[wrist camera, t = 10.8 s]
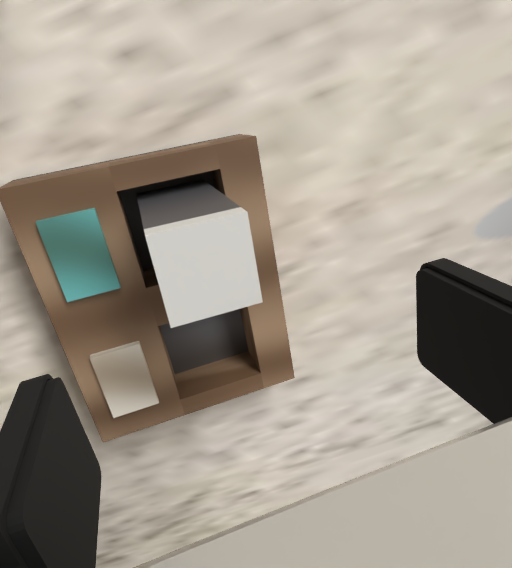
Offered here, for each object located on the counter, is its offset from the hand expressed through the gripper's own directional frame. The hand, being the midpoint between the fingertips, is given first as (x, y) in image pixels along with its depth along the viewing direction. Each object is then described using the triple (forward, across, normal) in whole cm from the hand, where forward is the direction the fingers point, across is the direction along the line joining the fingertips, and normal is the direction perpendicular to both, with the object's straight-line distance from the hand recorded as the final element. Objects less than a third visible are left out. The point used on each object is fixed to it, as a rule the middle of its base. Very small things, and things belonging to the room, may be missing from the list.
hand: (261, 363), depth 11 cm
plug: (+17, 0, 0) cm, 17 cm away
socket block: (+17, +2, +4) cm, 18 cm away
